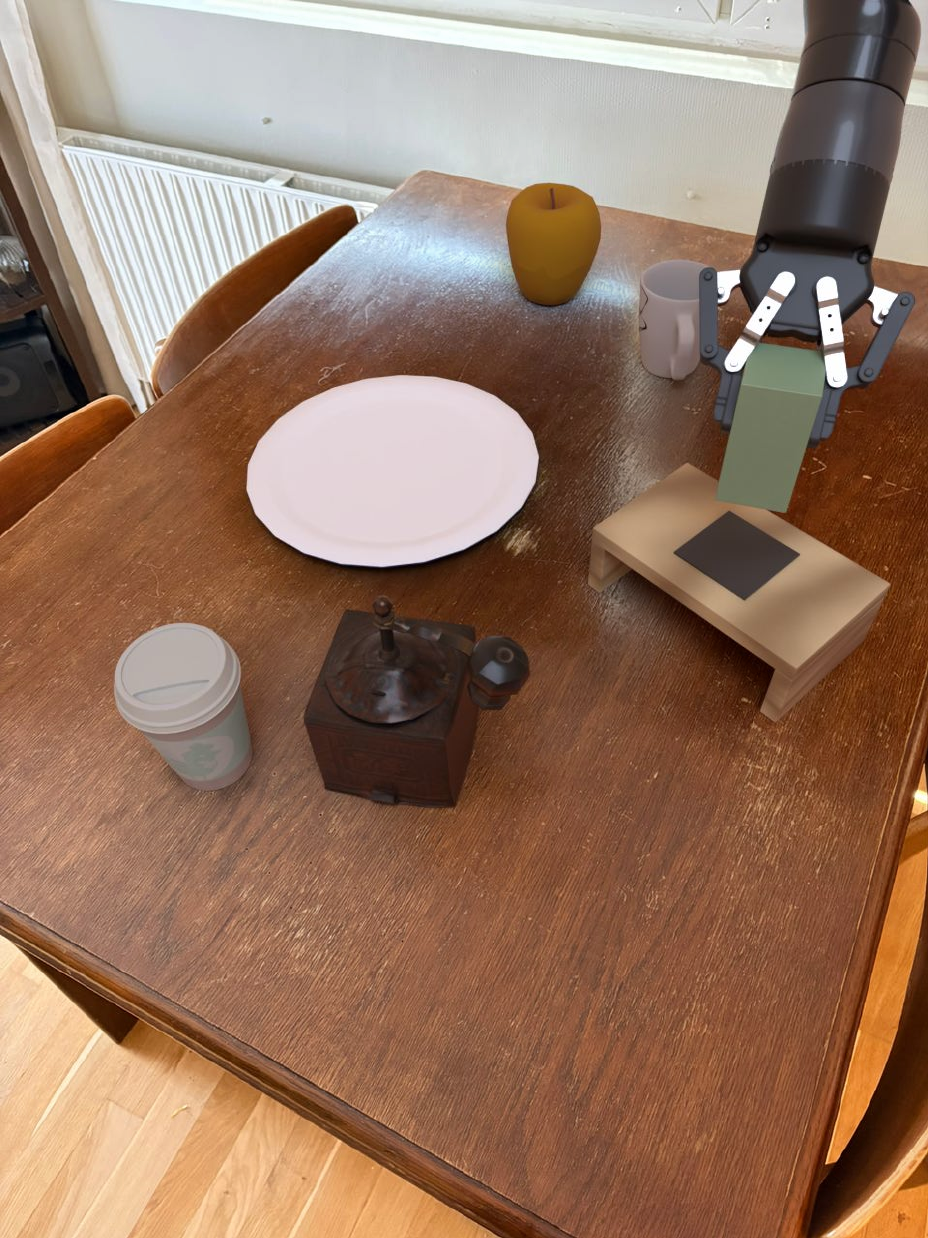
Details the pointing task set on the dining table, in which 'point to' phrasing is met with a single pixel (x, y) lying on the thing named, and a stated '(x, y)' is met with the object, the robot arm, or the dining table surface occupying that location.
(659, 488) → the shelf
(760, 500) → the green carton
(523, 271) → the apple
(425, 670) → the coffee grinder
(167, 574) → the dining table surface
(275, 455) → the plate
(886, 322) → the robot arm
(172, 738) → the coffee cup
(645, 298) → the mug
